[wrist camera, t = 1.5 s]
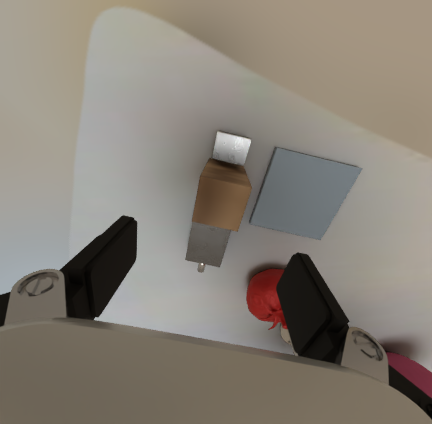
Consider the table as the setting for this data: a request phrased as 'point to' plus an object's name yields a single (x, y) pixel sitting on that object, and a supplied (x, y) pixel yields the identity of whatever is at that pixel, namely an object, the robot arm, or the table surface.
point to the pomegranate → (266, 297)
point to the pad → (302, 193)
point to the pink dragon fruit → (412, 371)
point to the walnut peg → (222, 195)
